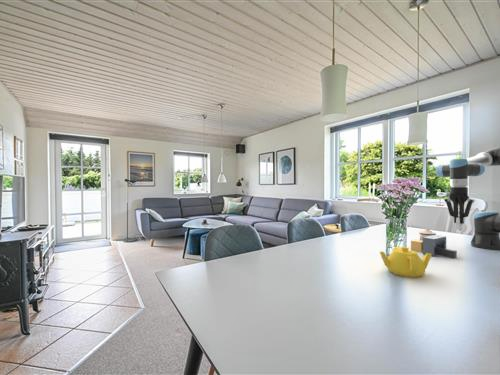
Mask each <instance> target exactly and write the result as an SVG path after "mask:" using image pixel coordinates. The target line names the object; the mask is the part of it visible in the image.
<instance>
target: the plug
mask: <svg viewBox="0 0 500 375" xmlns="http://www.w3.org/2000/svg"><path fill="white" fill-rule="evenodd" d="M410 250H412V251H415V252H417V253H418V252H419V253H423V241H422V240H420V239H412V240H410ZM457 255H458V252H457V250H455V249H450V248H446V249H445V248H440V247H436V256H441V257H446V258H450V259H456V258H458V256H457Z"/></svg>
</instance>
